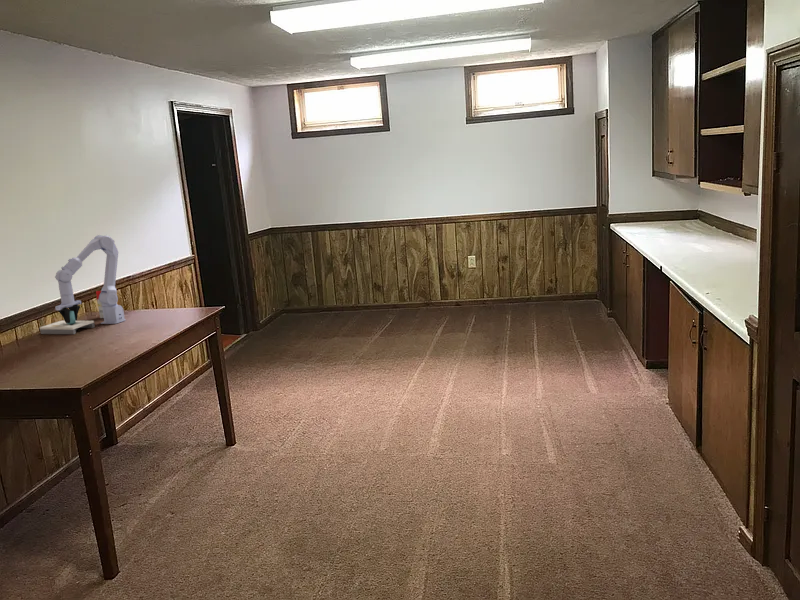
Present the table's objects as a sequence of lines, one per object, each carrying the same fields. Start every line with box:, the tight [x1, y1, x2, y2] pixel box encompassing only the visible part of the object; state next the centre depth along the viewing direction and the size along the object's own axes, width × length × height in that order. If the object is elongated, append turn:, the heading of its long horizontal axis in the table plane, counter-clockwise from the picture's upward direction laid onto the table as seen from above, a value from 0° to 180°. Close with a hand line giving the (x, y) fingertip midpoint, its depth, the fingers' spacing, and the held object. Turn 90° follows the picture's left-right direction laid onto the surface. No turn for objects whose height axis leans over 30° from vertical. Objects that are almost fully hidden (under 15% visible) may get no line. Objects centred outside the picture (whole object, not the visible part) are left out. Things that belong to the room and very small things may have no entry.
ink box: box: [95, 290, 104, 319], centre depth 362 cm, size 8×5×15 cm, turn 84°
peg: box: [67, 311, 78, 331], centre depth 334 cm, size 4×4×9 cm
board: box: [39, 320, 95, 335], centre depth 336 cm, size 20×14×4 cm
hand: (71, 321), depth 334 cm, fingers closed on peg, 4 cm apart
